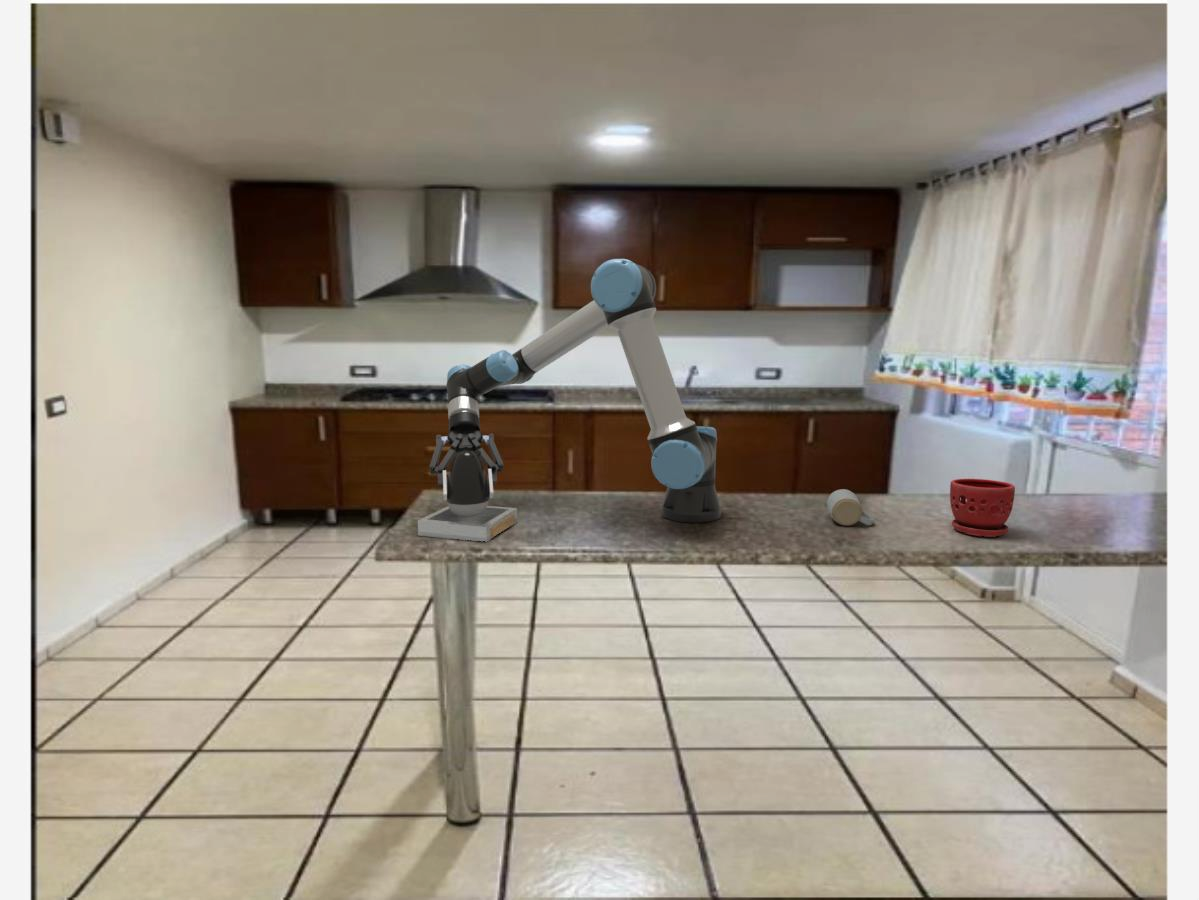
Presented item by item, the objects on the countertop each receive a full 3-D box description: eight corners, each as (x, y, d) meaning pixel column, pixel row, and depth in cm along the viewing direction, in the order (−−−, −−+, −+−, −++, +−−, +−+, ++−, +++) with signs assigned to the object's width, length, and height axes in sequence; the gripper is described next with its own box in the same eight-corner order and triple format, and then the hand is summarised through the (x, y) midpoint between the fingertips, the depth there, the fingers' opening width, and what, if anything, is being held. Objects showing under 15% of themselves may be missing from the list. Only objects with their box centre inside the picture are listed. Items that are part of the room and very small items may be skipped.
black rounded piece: (499, 511, 159) (497, 448, 156) (473, 522, 149) (471, 455, 147) (463, 506, 163) (461, 445, 160) (437, 516, 154) (434, 452, 151)
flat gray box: (518, 522, 162) (518, 508, 162) (488, 542, 146) (487, 527, 145) (453, 516, 167) (452, 502, 166) (416, 535, 151) (416, 520, 150)
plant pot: (1016, 531, 157) (1022, 482, 155) (1000, 543, 148) (1006, 491, 146) (956, 521, 166) (961, 474, 164) (938, 531, 157) (943, 482, 155)
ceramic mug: (830, 526, 161) (833, 495, 159) (825, 517, 169) (828, 487, 167) (876, 529, 159) (879, 498, 157) (869, 520, 167) (872, 490, 165)
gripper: (508, 427, 170) (516, 502, 158) (418, 429, 165) (418, 507, 153) (510, 409, 164) (518, 485, 152) (416, 410, 159) (417, 489, 147)
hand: (468, 496), depth 152 cm, fingers closed on black rounded piece, 10 cm apart
